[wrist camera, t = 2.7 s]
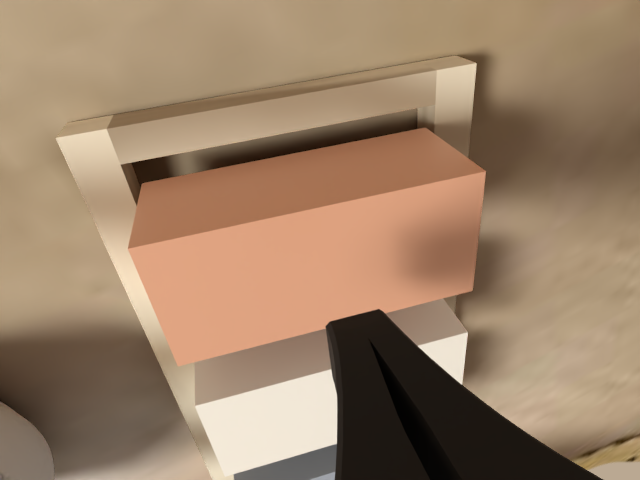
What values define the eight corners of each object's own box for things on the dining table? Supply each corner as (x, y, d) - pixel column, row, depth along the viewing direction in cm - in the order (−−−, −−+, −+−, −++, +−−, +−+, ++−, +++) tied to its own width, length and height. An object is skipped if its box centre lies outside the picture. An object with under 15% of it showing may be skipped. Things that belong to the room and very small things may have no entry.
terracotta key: (422, 231, 18) (472, 290, 15) (180, 288, 17) (178, 366, 14) (425, 127, 16) (486, 171, 13) (141, 183, 15) (127, 249, 11)
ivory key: (419, 340, 22) (459, 407, 19) (219, 394, 21) (224, 476, 17) (421, 269, 20) (467, 332, 16) (194, 325, 18) (194, 406, 15)
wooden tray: (434, 403, 28) (445, 423, 27) (216, 467, 27) (218, 492, 25) (455, 55, 17) (476, 62, 15) (66, 122, 15) (55, 137, 13)
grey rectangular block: (417, 419, 26) (450, 486, 22) (247, 469, 24) (255, 549, 21) (418, 367, 23) (456, 434, 20) (228, 420, 22) (235, 502, 19)
